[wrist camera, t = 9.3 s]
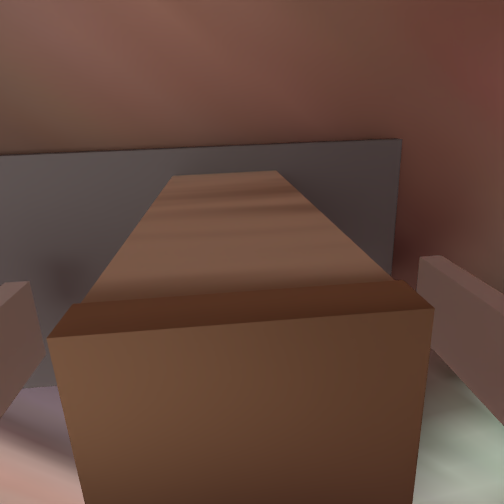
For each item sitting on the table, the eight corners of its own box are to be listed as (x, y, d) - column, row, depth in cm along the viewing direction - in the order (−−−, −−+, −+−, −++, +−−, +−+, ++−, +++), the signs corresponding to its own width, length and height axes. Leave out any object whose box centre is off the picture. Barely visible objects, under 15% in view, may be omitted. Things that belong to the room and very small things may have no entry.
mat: (-128, 160, 15) (-142, 162, 14) (395, 138, 16) (402, 138, 16) (-54, 386, 18) (-62, 395, 18) (379, 352, 20) (384, 359, 19)
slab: (171, 174, 16) (46, 338, 4) (277, 169, 16) (435, 308, 4) (190, 357, 18) (146, 764, 7) (281, 349, 18) (385, 728, 7)
